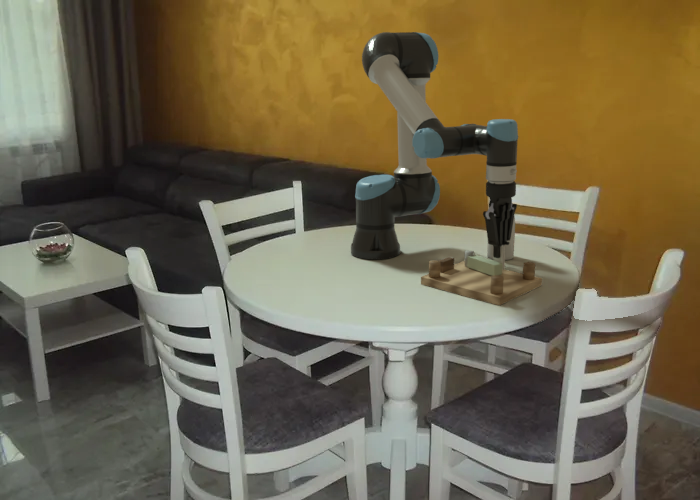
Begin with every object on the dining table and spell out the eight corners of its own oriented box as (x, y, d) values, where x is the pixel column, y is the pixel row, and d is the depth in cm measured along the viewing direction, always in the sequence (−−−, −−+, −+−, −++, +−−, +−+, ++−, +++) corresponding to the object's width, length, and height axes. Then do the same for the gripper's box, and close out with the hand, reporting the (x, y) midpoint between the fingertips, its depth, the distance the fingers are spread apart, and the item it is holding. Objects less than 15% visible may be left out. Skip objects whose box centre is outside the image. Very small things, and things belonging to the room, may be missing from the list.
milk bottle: (513, 261, 196) (517, 193, 190) (486, 260, 197) (489, 193, 192) (513, 254, 203) (516, 189, 197) (487, 253, 204) (489, 188, 199)
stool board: (420, 284, 177) (421, 262, 176) (465, 267, 191) (465, 246, 189) (499, 305, 161) (500, 281, 159) (541, 285, 175) (543, 263, 173)
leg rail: (461, 265, 185) (462, 251, 184) (470, 263, 187) (470, 249, 186) (493, 276, 175) (494, 262, 174) (502, 274, 177) (502, 260, 176)
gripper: (500, 186, 165) (498, 277, 172) (526, 178, 174) (523, 265, 181) (474, 183, 170) (473, 271, 177) (501, 175, 179) (499, 260, 186)
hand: (498, 268), depth 179 cm, fingers closed
